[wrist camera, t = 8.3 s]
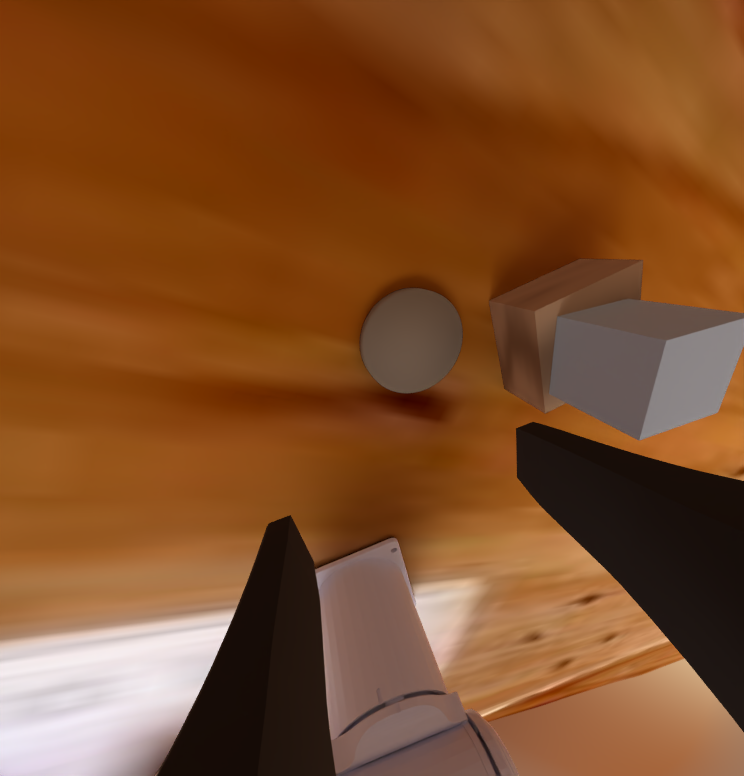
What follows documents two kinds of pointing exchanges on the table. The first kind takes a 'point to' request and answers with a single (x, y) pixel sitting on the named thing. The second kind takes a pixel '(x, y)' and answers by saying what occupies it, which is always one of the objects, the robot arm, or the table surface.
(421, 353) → the smooth gray stone
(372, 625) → the robot arm
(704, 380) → the gray block
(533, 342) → the walnut block
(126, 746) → the table surface
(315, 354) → the table surface
